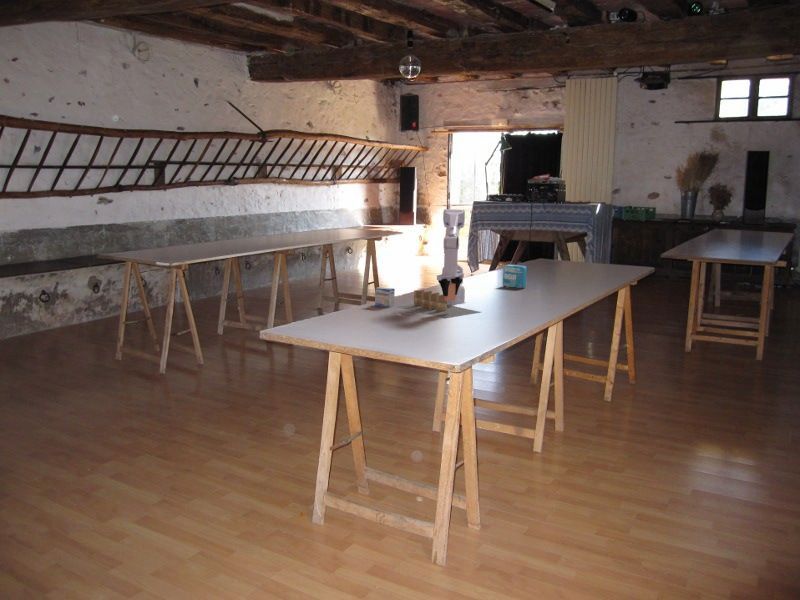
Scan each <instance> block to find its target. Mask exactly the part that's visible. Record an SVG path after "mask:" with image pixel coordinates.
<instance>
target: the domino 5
mask: <svg viewBox="0 0 800 600" xmlns="http://www.w3.org/2000/svg"><path fill="white" fill-rule="evenodd" d="M455 290H456V284H455V283H451V284H449V288H448V296H445V301H452V300H455Z"/></svg>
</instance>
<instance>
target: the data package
mask: <svg viewBox="0 0 800 600" xmlns="http://www.w3.org/2000/svg"><path fill="white" fill-rule="evenodd" d="M527 272H528V269H527V266H526V265H519V264H518V265H517V264H505V265H504V266H503V268H502V286H503V287H504V286H506V287H505V288H509V287H516V288H515V289H518V288H522V289H524V287H525V288H526V287H527V276H528V275H527V274H528V273H527Z"/></svg>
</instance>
